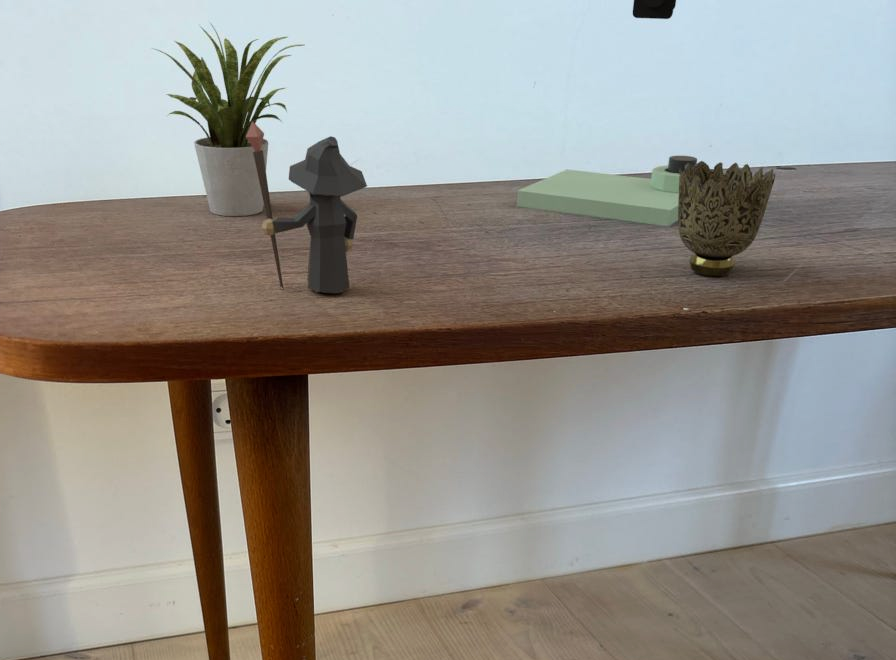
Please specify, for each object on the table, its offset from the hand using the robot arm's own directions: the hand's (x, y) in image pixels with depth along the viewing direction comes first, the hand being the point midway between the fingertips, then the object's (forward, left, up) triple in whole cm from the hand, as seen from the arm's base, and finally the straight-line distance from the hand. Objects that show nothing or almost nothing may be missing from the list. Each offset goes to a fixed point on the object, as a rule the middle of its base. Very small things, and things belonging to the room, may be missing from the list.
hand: (654, 13), depth 89 cm
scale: (+5, -10, -18) cm, 21 cm away
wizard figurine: (+14, +32, -18) cm, 39 cm away
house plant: (+35, +12, -18) cm, 41 cm away
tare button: (0, -14, -15) cm, 21 cm away
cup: (-11, +10, -18) cm, 23 cm away
